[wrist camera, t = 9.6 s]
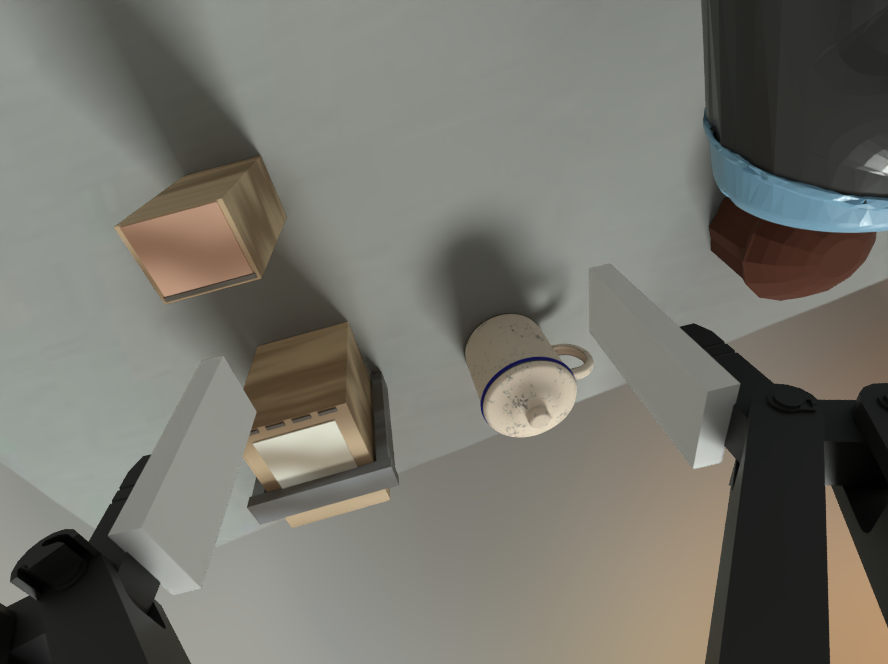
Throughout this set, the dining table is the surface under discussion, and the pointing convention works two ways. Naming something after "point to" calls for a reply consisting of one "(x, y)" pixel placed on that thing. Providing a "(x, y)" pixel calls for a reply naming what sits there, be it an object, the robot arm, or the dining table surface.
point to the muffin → (785, 254)
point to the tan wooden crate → (317, 429)
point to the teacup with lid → (522, 375)
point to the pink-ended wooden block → (207, 230)
